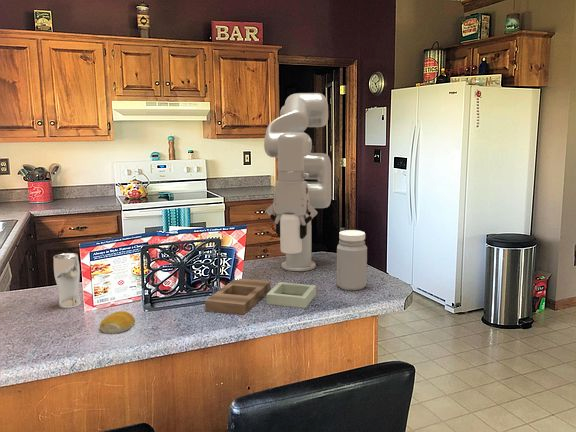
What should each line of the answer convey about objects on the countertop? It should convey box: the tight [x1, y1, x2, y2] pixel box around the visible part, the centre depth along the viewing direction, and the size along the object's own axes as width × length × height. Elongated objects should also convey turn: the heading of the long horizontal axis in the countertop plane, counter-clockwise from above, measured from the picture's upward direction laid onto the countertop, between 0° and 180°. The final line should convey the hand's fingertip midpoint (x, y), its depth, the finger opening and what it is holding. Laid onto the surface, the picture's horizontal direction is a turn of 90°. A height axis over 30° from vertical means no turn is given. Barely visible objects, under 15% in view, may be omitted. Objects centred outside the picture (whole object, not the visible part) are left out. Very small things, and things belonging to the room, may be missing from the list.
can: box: [279, 213, 302, 255], centre depth 152 cm, size 6×6×12 cm
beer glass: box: [52, 252, 82, 309], centre depth 152 cm, size 7×7×15 cm
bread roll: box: [99, 310, 136, 334], centre depth 136 cm, size 8×9×4 cm
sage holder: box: [265, 281, 317, 309], centre depth 156 cm, size 12×12×3 cm
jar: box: [336, 229, 368, 291], centre depth 166 cm, size 10×10×18 cm
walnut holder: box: [204, 278, 272, 316], centre depth 156 cm, size 22×12×3 cm, turn 162°
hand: (291, 236), depth 153 cm, fingers closed on can, 6 cm apart
